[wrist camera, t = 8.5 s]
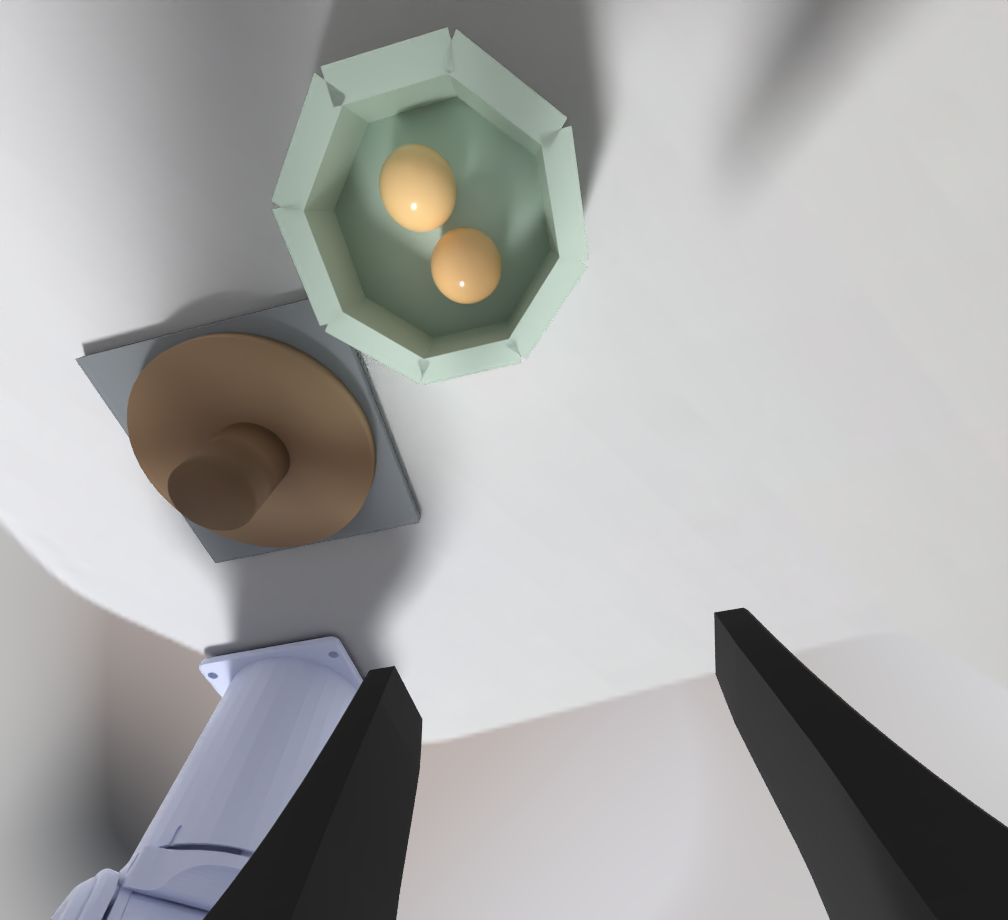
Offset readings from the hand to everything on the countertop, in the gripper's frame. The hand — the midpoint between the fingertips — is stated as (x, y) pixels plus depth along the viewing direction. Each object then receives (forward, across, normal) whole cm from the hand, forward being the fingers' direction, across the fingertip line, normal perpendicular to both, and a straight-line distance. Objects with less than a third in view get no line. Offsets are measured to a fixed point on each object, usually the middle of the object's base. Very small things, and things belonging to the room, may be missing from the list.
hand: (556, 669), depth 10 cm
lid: (+10, +10, -3) cm, 15 cm away
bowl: (+10, +1, -9) cm, 14 cm away
